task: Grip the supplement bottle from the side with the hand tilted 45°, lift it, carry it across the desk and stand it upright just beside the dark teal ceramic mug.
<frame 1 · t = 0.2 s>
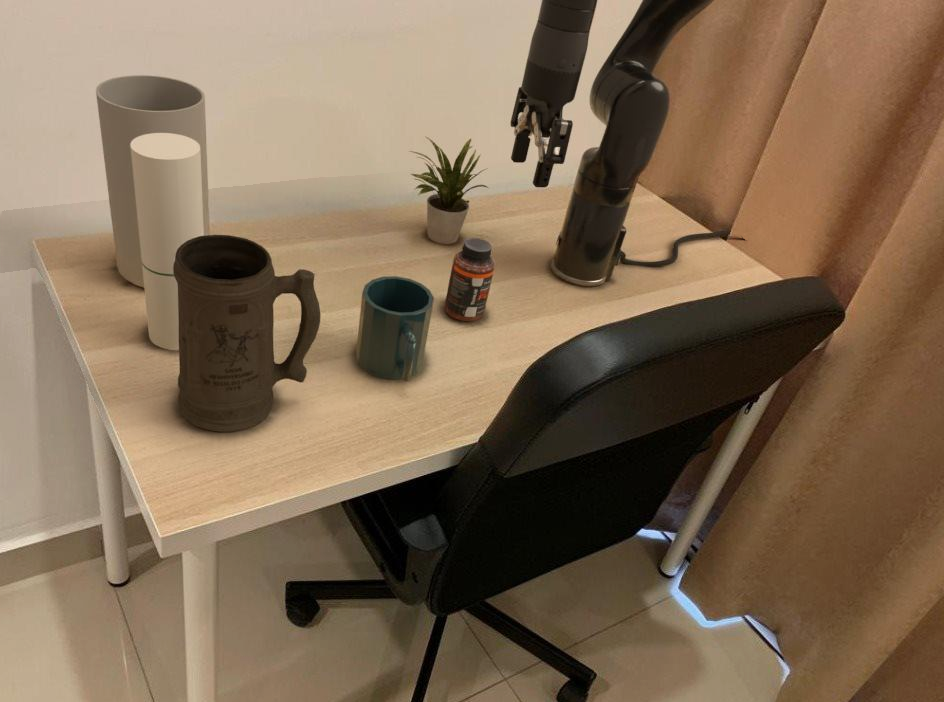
hand: (528, 173, 113), 17 cm above the table, tool pointing down, fingers open, 8 cm apart
cylinder vase: (165, 270, 110), on the table
cylindrical container: (178, 334, 99), on the table
beer stein: (247, 400, 91), on the table
mug: (389, 358, 101), on the table
supplement bottle: (463, 313, 113), on the table
house plant: (440, 233, 132), on the table
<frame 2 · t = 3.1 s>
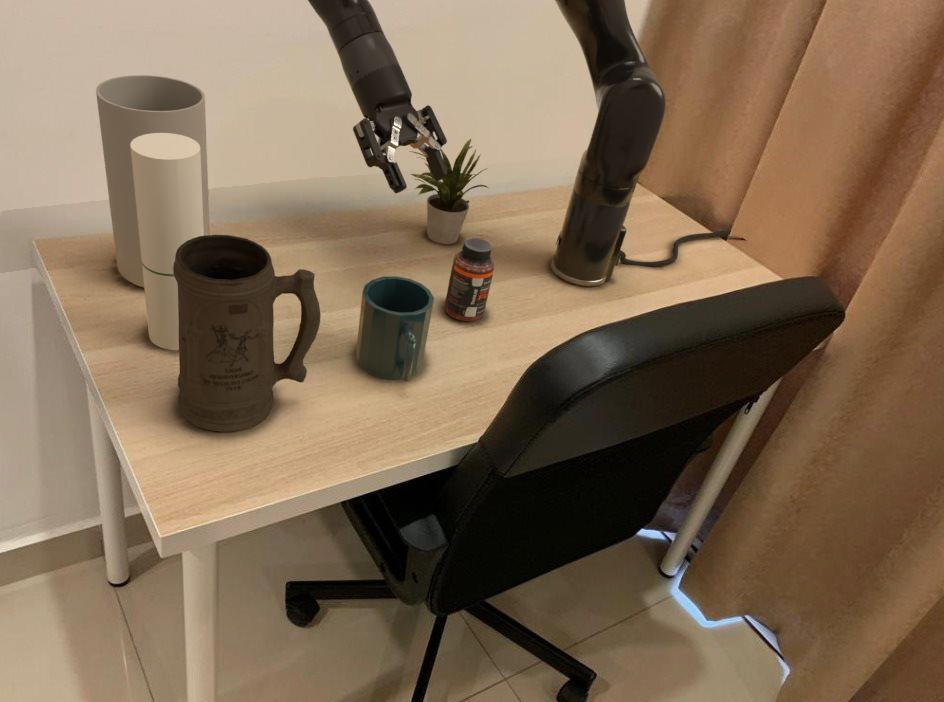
hand: (422, 184, 109), 15 cm above the table, tool tilted 45°, fingers open, 8 cm apart
nothing on the table moved.
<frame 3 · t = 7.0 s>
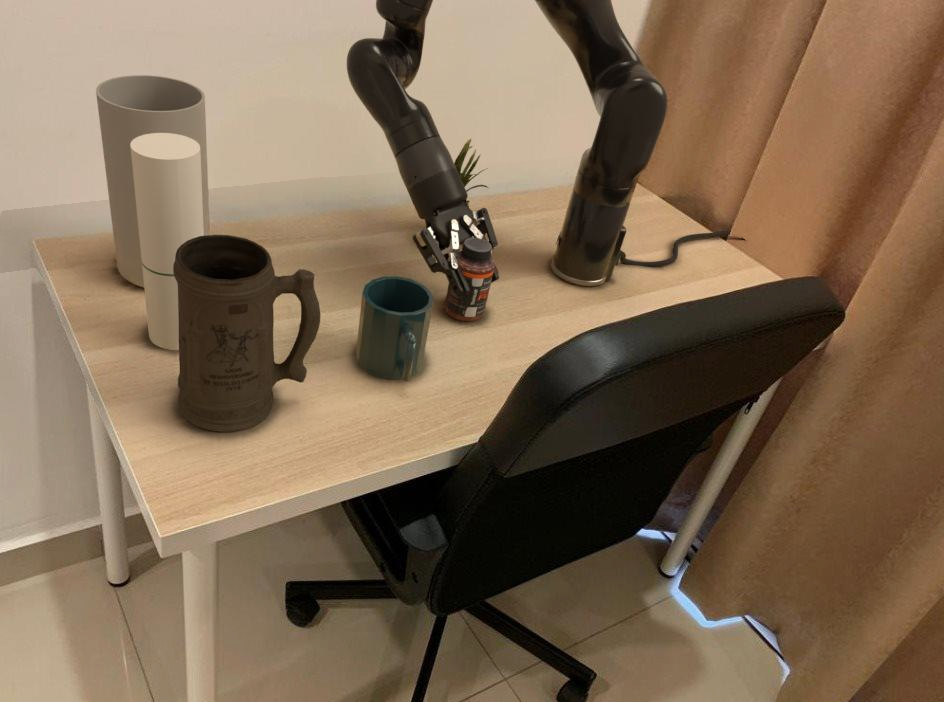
hand: (479, 287, 109), 5 cm above the table, tool tilted 45°, fingers closed on supplement bottle, 6 cm apart
supplement bottle: (463, 313, 113), on the table, touching gripper
everything else where it was.
when the fingers open (5 cm above the table, at t = 17.1 s): supplement bottle stays where it is, on the table.
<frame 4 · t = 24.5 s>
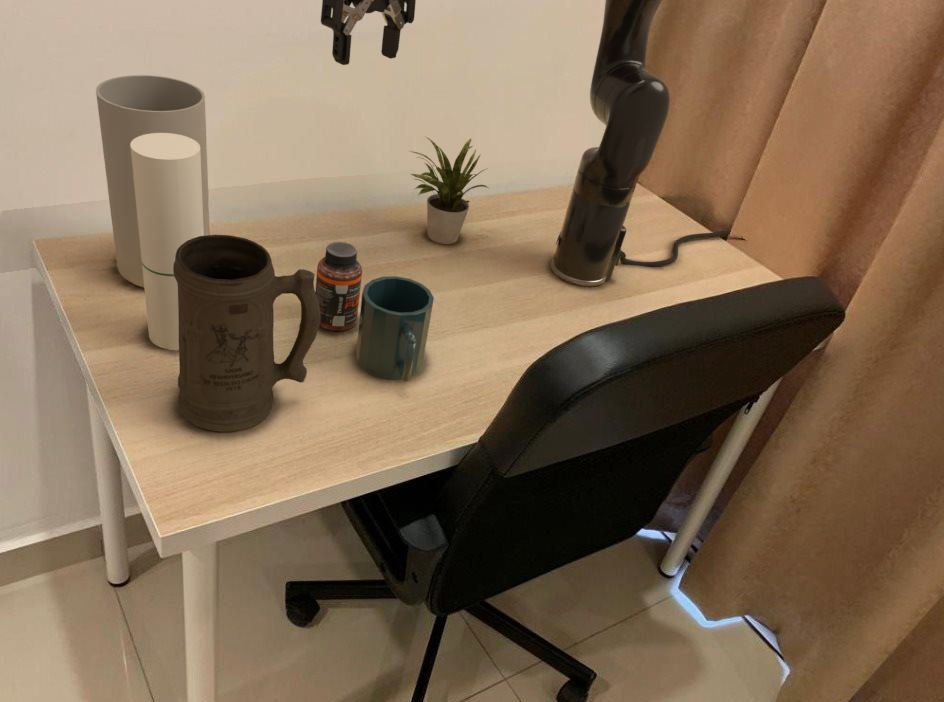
hand: (365, 59, 102), 30 cm above the table, tool pointing down, fingers open, 8 cm apart
supplement bottle: (335, 322, 106), on the table
everything else where it was.
at the end: supplement bottle 10.7 cm from the mug (horizontally); supplement bottle tilted 0°; the gripper is holding nothing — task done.
